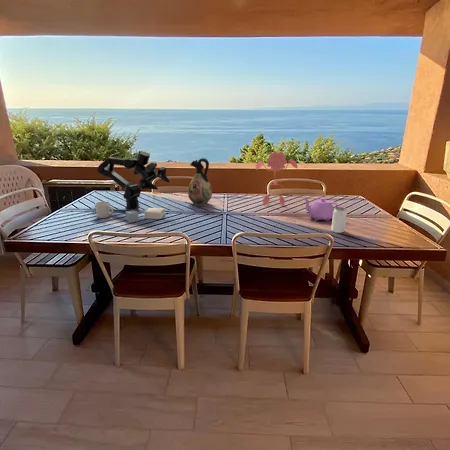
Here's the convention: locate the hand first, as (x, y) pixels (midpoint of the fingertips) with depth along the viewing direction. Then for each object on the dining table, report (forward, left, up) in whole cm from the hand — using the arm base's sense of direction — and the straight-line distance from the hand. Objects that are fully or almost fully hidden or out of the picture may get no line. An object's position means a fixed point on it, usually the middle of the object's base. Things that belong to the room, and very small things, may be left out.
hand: (163, 185), depth 196 cm
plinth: (-4, -6, -17) cm, 19 cm away
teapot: (+87, +18, -17) cm, 91 cm away
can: (+96, -2, -17) cm, 98 cm away
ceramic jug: (+13, +27, -17) cm, 35 cm away
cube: (-12, -17, -17) cm, 27 cm away
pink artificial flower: (+59, +37, -17) cm, 72 cm away
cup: (-29, -16, -17) cm, 37 cm away
